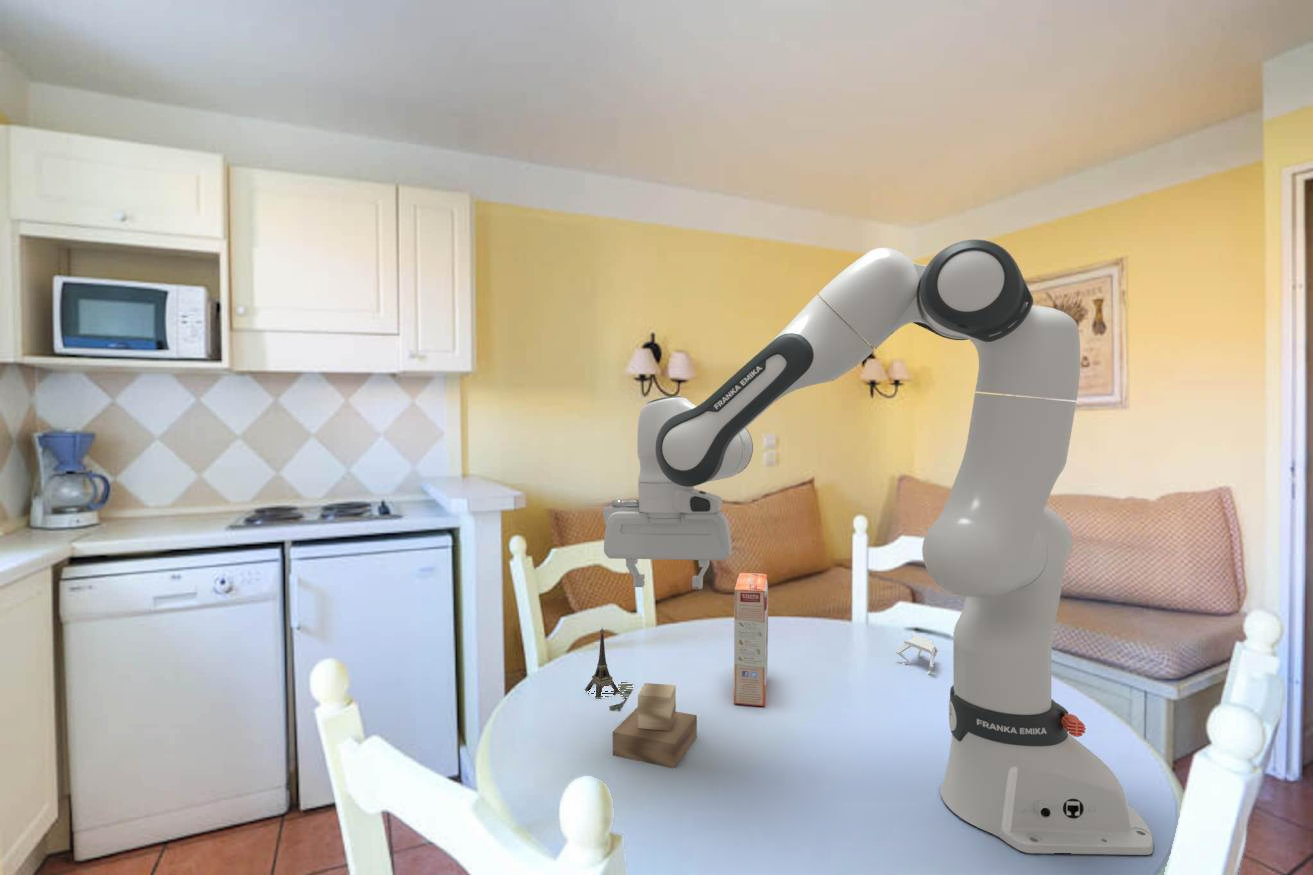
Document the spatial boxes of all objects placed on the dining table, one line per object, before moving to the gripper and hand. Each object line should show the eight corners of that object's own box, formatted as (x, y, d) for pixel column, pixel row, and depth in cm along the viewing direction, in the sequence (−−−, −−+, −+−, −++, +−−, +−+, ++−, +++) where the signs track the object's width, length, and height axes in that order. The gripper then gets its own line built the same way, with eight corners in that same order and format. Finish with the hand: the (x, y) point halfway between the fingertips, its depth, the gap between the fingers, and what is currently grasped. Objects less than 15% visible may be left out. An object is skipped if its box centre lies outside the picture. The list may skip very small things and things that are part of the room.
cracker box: (767, 708, 109) (766, 589, 109) (733, 705, 111) (732, 588, 111) (769, 677, 123) (768, 572, 123) (738, 675, 124) (737, 571, 124)
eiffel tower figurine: (620, 715, 108) (620, 638, 108) (565, 710, 110) (565, 635, 110) (639, 681, 123) (639, 614, 123) (590, 678, 125) (590, 611, 125)
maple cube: (675, 716, 98) (675, 685, 98) (670, 730, 94) (670, 697, 94) (644, 714, 99) (644, 682, 99) (637, 728, 94) (637, 695, 95)
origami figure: (887, 658, 134) (887, 635, 134) (923, 655, 135) (923, 633, 135) (919, 679, 122) (918, 654, 122) (958, 677, 123) (958, 652, 123)
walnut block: (696, 740, 99) (696, 715, 99) (674, 771, 90) (674, 743, 90) (639, 729, 103) (639, 705, 103) (612, 758, 94) (612, 731, 94)
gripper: (597, 501, 98) (599, 590, 97) (727, 501, 93) (729, 593, 93) (608, 498, 104) (610, 581, 104) (731, 497, 99) (733, 584, 99)
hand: (668, 587), depth 98 cm, fingers open, 8 cm apart
